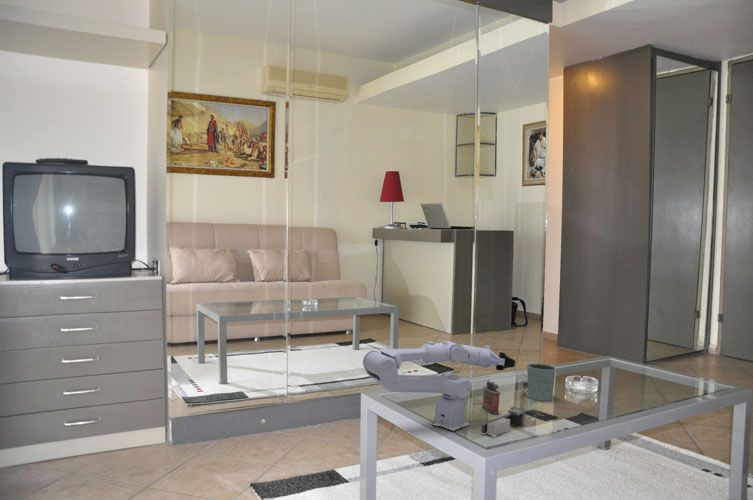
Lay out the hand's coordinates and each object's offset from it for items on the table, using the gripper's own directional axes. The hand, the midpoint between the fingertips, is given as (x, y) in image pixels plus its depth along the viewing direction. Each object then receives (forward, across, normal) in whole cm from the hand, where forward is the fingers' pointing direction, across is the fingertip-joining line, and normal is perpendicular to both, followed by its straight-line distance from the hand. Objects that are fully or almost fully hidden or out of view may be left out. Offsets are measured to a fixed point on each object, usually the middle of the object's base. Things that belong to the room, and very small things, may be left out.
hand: (506, 361), depth 197 cm
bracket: (-3, -8, +20) cm, 22 cm away
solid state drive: (+18, -1, +16) cm, 24 cm away
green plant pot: (+32, +14, +12) cm, 37 cm away
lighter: (+4, +8, +18) cm, 20 cm away
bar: (-7, -10, +21) cm, 24 cm away
